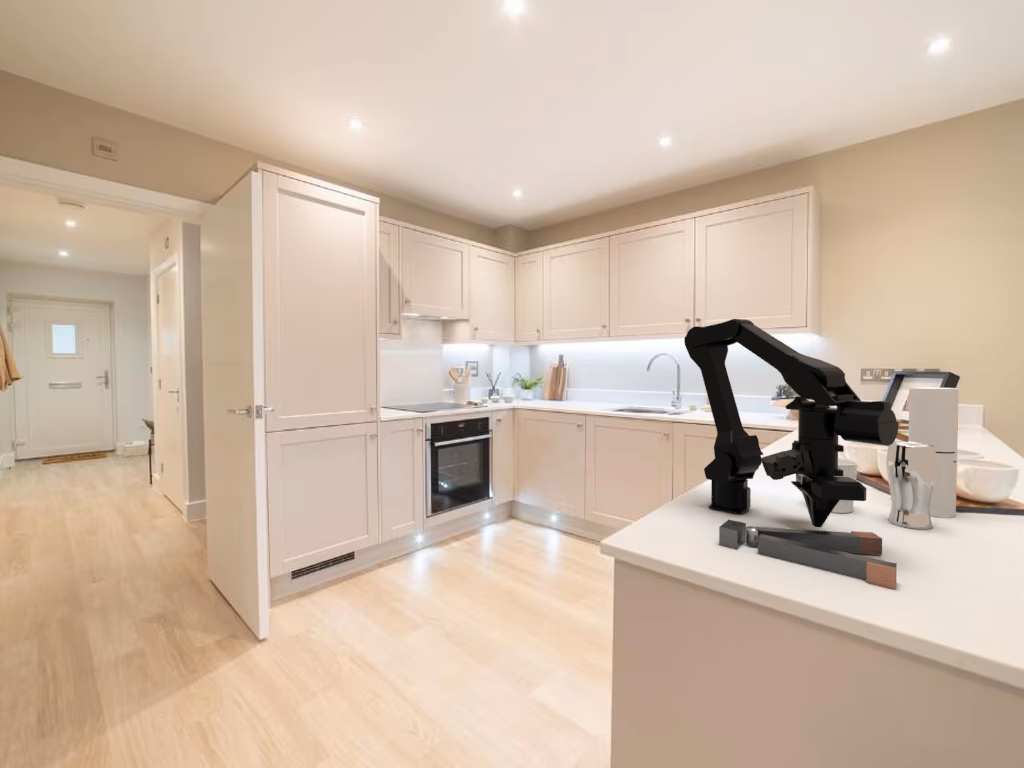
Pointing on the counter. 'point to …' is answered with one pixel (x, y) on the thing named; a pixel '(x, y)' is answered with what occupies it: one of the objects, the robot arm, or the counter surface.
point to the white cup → (849, 471)
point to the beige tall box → (937, 440)
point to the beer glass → (911, 483)
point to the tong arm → (822, 539)
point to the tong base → (813, 555)
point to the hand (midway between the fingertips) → (816, 526)
